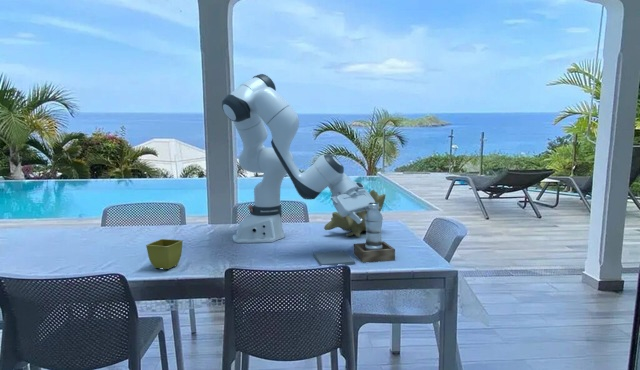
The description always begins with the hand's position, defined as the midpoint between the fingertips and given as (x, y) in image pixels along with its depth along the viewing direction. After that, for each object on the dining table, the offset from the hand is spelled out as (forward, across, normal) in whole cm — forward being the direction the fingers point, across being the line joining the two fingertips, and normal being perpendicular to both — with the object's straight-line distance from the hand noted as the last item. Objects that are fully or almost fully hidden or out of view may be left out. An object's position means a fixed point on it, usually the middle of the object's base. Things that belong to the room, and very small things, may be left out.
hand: (367, 220), depth 160 cm
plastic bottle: (+11, +1, +8) cm, 14 cm away
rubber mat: (+4, -10, +16) cm, 19 cm away
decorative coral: (-6, +26, +25) cm, 36 cm away
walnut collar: (+11, +1, +8) cm, 14 cm away
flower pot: (-26, -50, +46) cm, 73 cm away
